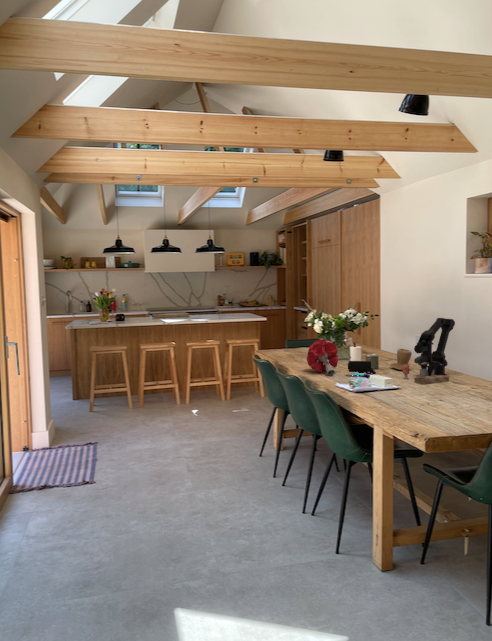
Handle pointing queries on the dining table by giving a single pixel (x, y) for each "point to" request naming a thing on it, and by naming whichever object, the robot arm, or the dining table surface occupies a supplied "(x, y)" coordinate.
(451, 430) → the dining table surface
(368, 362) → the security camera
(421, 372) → the stud finder
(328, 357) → the bouquet
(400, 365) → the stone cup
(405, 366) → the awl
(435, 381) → the beam
